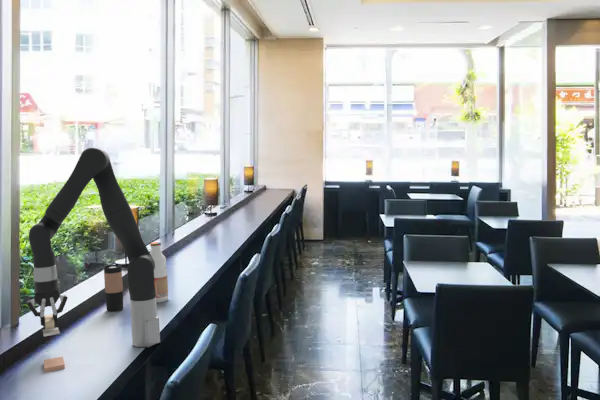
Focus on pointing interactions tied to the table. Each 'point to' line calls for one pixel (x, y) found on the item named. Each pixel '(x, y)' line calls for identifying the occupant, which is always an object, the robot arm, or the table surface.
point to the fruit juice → (159, 272)
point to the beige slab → (50, 326)
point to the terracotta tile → (54, 364)
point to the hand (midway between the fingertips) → (49, 325)
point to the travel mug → (113, 288)
